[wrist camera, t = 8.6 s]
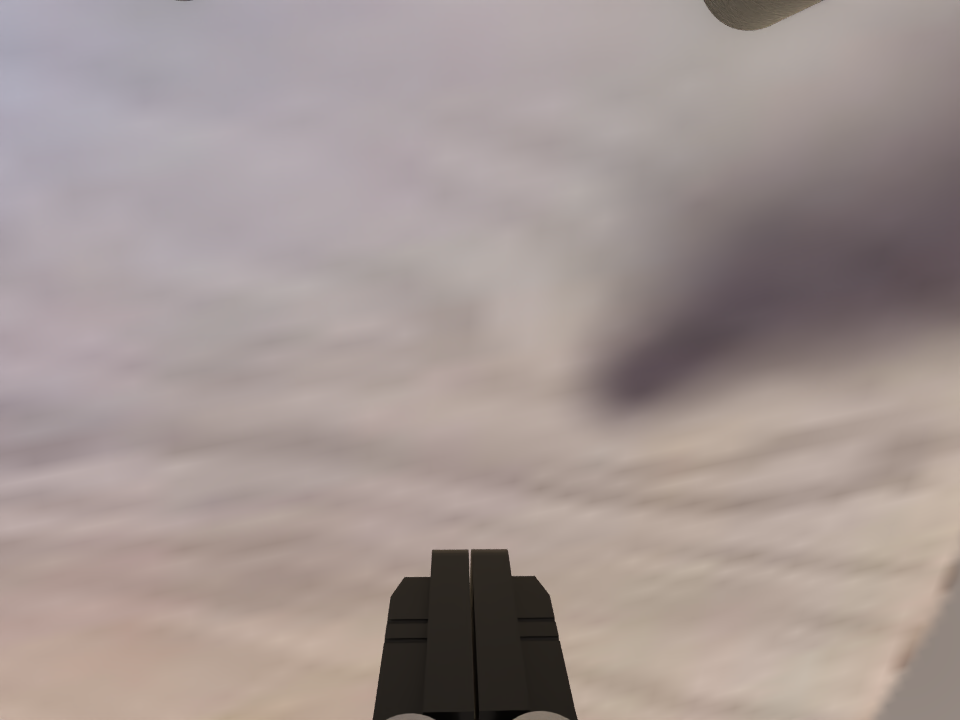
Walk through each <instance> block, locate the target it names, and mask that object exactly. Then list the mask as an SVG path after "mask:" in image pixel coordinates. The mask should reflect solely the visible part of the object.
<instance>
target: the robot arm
mask: <svg viewBox="0 0 960 720" xmlns="http://www.w3.org/2000/svg"><path fill="white" fill-rule="evenodd" d="M554 618H555V617H554V613H553V608H552V604H551V599H550V595H549V594H548V592H547V591H546V590H545V589H544V587H543V586H542V585H541V584H540V582H539V581H538V580H537V578H536V577H535V576H511V569H510V562H509V555H508V550H507V549H471V567H470V578H469V552H468V550H432V561H431V577H404V579H403V580H402V582H401V583H400V584H399V586H398V587H397V589H396V590H395V591H394V593H393V594H392V596H391V599H390V606H389V613H388V621H387V626H386V633H385V643H384V647H383V654H382V661H381V667H380V674H379V681H378V688H377V695H376V702H375V709H374V715H373V720H578V719H577V715H576V712H575V708H574V703H573V698H572V694H571V689H570V685H569V680H568V676H567V671H566V667H565V662H564V658H563V653H562V649H561V644H560V641H559V635H558V631H557V626H556V622H555V619H554Z"/></svg>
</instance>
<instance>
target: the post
mask: <svg viewBox="0 0 960 720" xmlns="http://www.w3.org/2000/svg"><path fill="white" fill-rule="evenodd" d="M704 1H705V3H706V5H707V7H708V8H709V10H710V11H711V12H712V14H713V15H714V16H715V17H716V18H717V19H718V20H719V21H721V22H722V23H724V24H725V25H727V26H729V27H732V28H735V29H738V30H745V31H748V30H758V29H762V28H766V27H768V26H771V25H773V24H775V23H777V22H779V21H781V20H783V19H785V18H787V17H789V16H792V15H794V14H796V13H798V12H800V11H802V10H804V9H806V8H808V7H810V6H813V5H815V4H817V3H819V2H821V1H823V0H704Z"/></svg>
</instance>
